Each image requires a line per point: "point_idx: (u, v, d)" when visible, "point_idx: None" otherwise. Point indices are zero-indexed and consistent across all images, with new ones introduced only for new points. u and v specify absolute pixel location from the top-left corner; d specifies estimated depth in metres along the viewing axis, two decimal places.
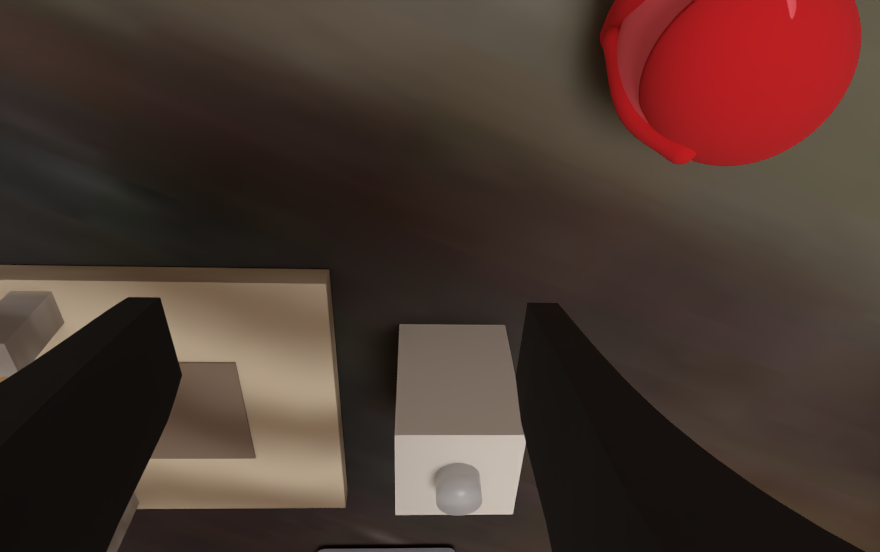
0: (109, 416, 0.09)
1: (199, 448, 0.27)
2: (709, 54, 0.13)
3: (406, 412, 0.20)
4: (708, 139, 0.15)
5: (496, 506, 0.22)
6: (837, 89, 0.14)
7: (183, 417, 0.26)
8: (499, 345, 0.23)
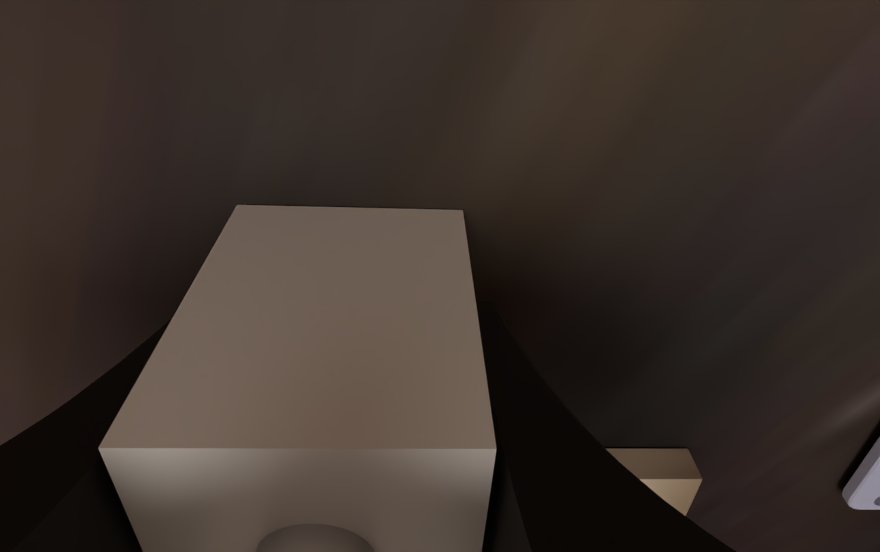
0: None
1: None
2: None
3: None
4: None
5: (449, 484, 0.07)
6: None
7: None
8: None
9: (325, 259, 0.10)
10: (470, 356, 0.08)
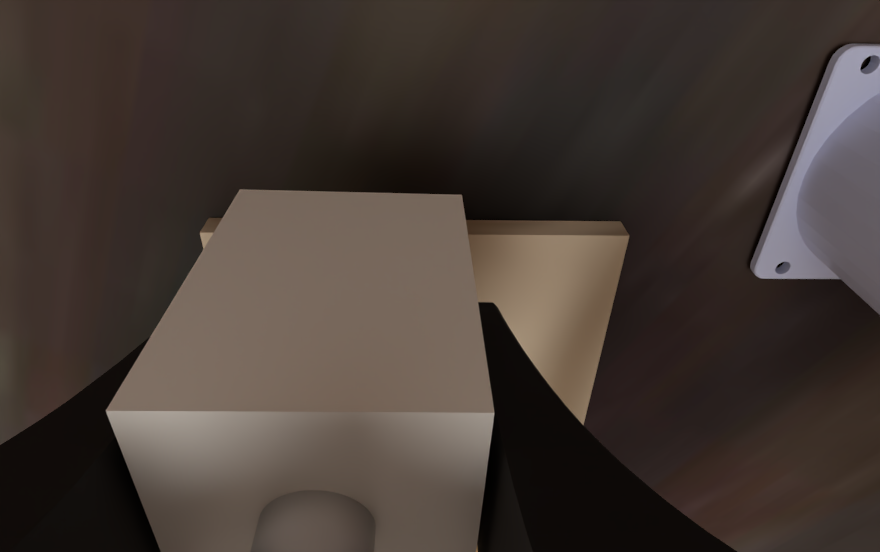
0: None
1: None
2: None
3: None
4: None
5: (448, 450, 0.07)
6: None
7: None
8: None
9: (326, 239, 0.10)
10: (469, 328, 0.08)
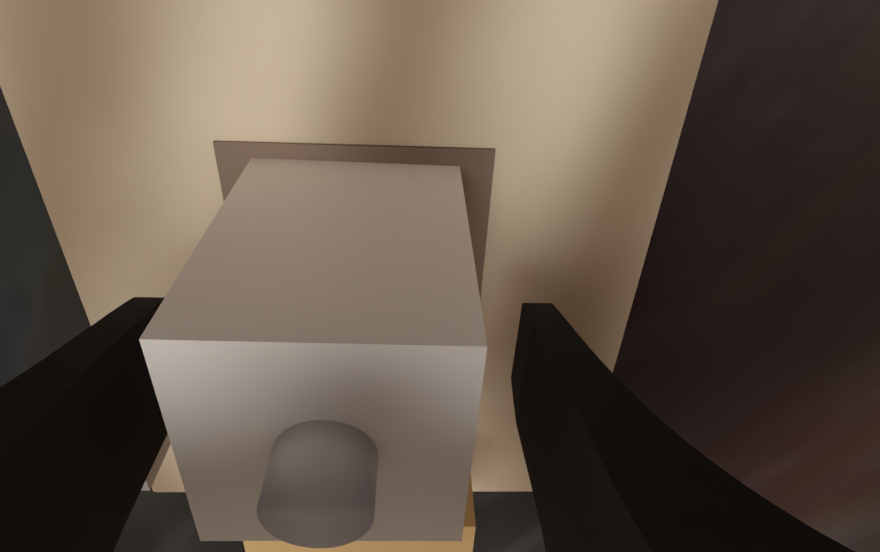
0: (115, 416, 0.09)
1: None
2: None
3: None
4: None
5: (445, 382, 0.08)
6: None
7: None
8: None
9: (333, 202, 0.11)
10: (465, 279, 0.09)
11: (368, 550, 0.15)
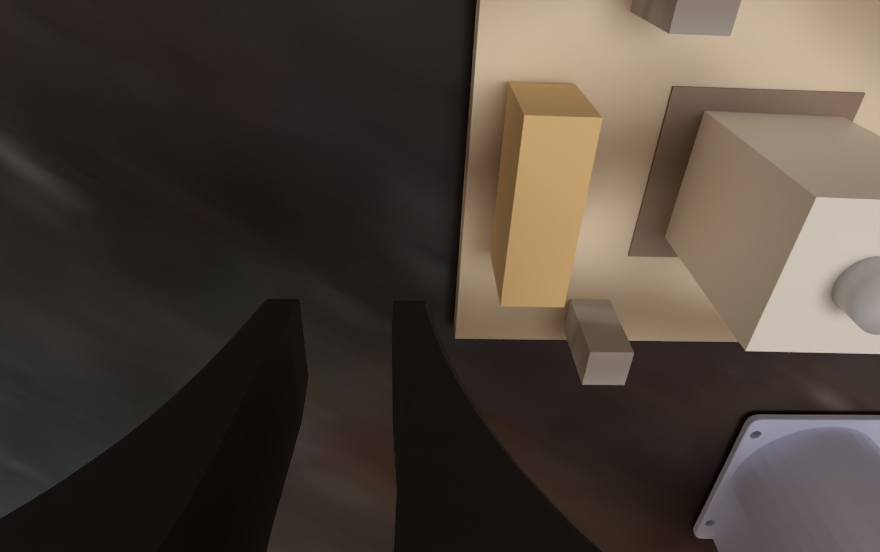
0: (271, 416, 0.09)
1: None
2: None
3: (807, 178, 0.14)
4: None
5: None
6: None
7: None
8: (859, 131, 0.17)
9: None
10: None
11: (543, 227, 0.16)
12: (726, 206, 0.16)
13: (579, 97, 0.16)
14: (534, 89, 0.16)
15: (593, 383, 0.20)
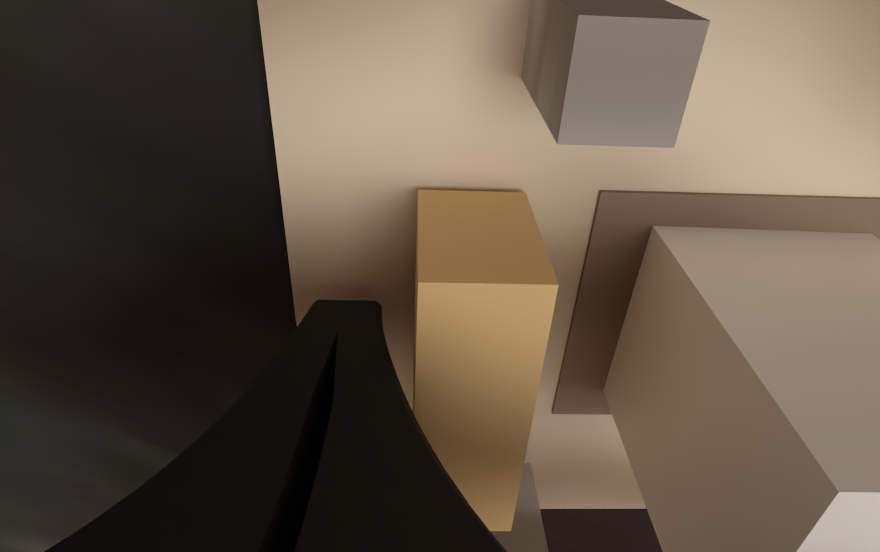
0: (329, 417, 0.09)
1: None
2: None
3: (818, 421, 0.07)
4: None
5: None
6: None
7: None
8: None
9: None
10: None
11: (469, 436, 0.10)
12: (681, 400, 0.10)
13: (526, 226, 0.10)
14: (455, 207, 0.10)
15: None
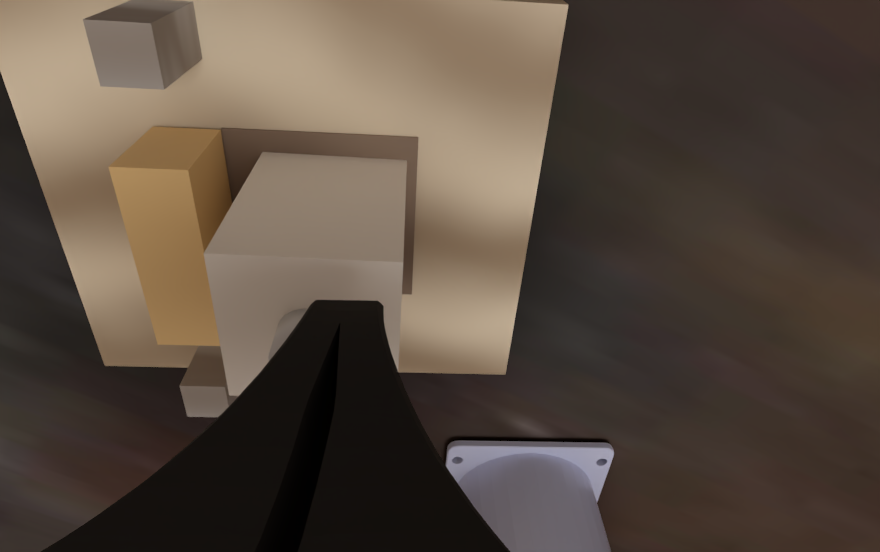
0: (327, 417, 0.09)
1: None
2: None
3: (232, 232, 0.14)
4: None
5: None
6: None
7: None
8: (393, 177, 0.17)
9: None
10: None
11: (171, 272, 0.17)
12: None
13: (200, 145, 0.16)
14: (167, 135, 0.17)
15: (200, 415, 0.20)
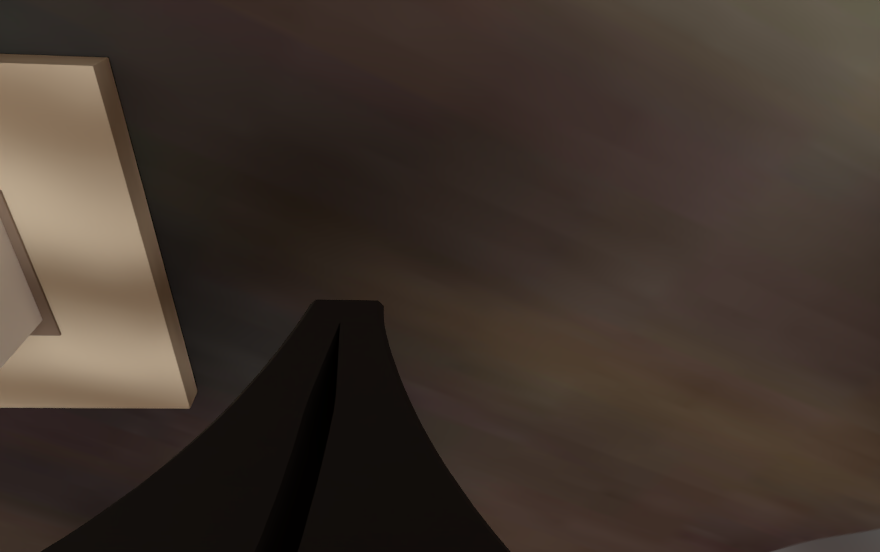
0: (327, 417, 0.09)
1: None
2: None
3: None
4: None
5: None
6: None
7: None
8: None
9: None
10: None
11: None
12: None
13: None
14: None
15: None
